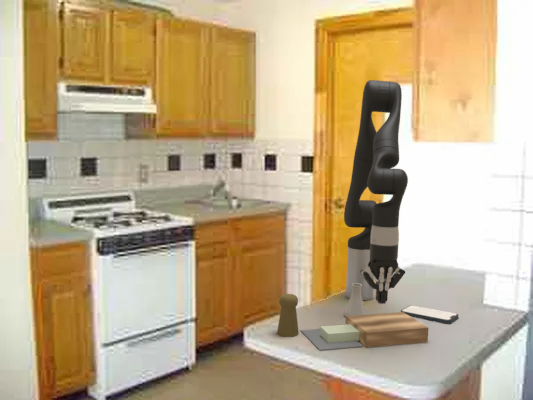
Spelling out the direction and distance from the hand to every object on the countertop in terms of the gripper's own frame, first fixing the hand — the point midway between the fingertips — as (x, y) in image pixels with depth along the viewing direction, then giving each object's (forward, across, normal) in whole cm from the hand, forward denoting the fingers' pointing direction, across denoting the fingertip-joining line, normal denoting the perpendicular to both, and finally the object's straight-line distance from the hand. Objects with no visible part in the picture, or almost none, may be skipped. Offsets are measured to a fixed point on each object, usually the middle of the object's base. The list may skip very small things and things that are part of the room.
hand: (381, 302), depth 163 cm
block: (+8, +12, 0) cm, 14 cm away
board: (+9, -2, +1) cm, 9 cm away
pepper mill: (+10, +25, -7) cm, 27 cm away
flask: (+10, 0, -17) cm, 20 cm away
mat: (+9, +14, 0) cm, 17 cm away
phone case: (+10, -23, -13) cm, 28 cm away
